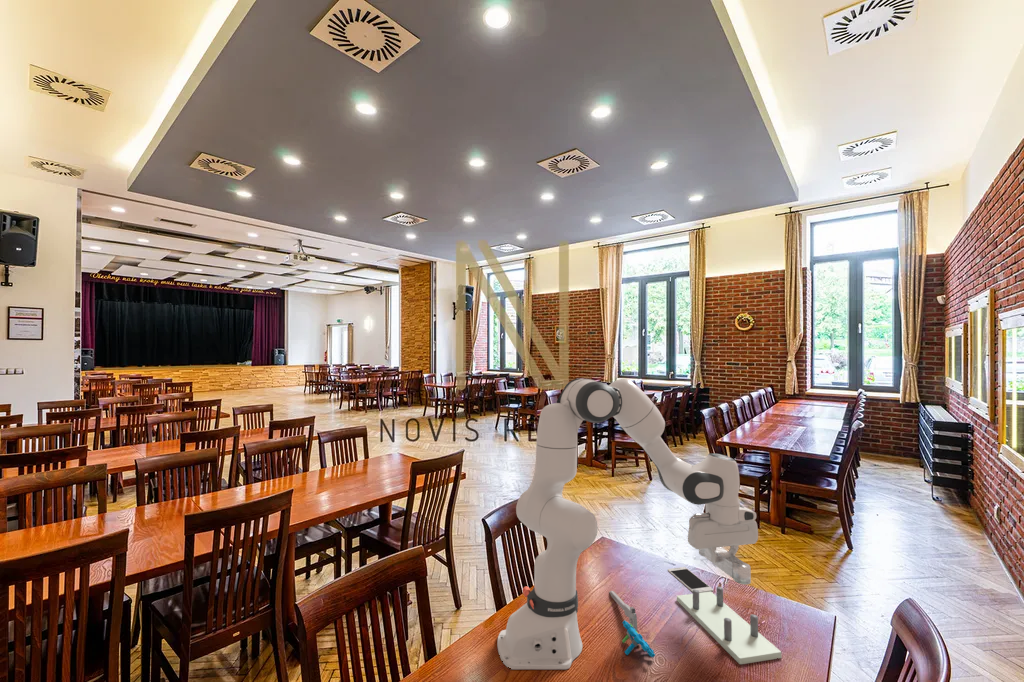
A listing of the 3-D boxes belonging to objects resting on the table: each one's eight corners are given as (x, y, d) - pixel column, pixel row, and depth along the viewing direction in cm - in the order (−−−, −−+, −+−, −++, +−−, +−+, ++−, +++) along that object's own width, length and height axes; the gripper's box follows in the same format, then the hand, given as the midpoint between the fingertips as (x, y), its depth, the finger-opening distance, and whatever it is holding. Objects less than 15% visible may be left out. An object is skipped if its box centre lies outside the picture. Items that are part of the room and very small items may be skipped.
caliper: (637, 634, 120) (637, 611, 120) (633, 634, 120) (633, 611, 120) (612, 593, 140) (611, 573, 140) (608, 593, 140) (608, 573, 140)
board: (739, 664, 108) (739, 638, 108) (676, 600, 135) (676, 579, 136) (781, 657, 110) (781, 632, 110) (711, 596, 138) (710, 575, 138)
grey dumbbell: (740, 585, 113) (740, 569, 113) (695, 551, 132) (695, 538, 132) (754, 583, 114) (754, 568, 114) (708, 550, 133) (708, 537, 133)
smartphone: (694, 595, 139) (694, 592, 139) (667, 571, 154) (667, 568, 154) (714, 592, 141) (714, 589, 141) (685, 569, 156) (685, 566, 156)
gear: (662, 661, 107) (632, 630, 108) (646, 680, 106) (616, 649, 107) (647, 637, 118) (620, 610, 119) (632, 655, 117) (605, 627, 118)
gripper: (696, 518, 118) (696, 569, 118) (761, 513, 122) (762, 562, 122) (682, 510, 125) (683, 558, 124) (745, 505, 128) (746, 552, 128)
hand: (723, 560), depth 123 cm, fingers closed on grey dumbbell, 3 cm apart
